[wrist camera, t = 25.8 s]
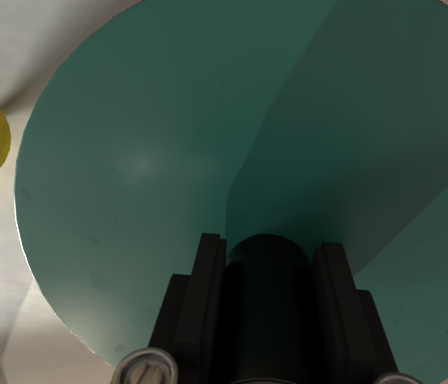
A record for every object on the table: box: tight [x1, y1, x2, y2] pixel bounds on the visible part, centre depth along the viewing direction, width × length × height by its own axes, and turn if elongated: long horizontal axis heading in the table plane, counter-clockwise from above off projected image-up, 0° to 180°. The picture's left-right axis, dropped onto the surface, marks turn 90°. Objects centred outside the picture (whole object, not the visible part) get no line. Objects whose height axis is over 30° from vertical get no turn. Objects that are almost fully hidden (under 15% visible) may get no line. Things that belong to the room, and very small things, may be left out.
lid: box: [14, 0, 448, 384], centre depth 10 cm, size 16×16×6 cm
